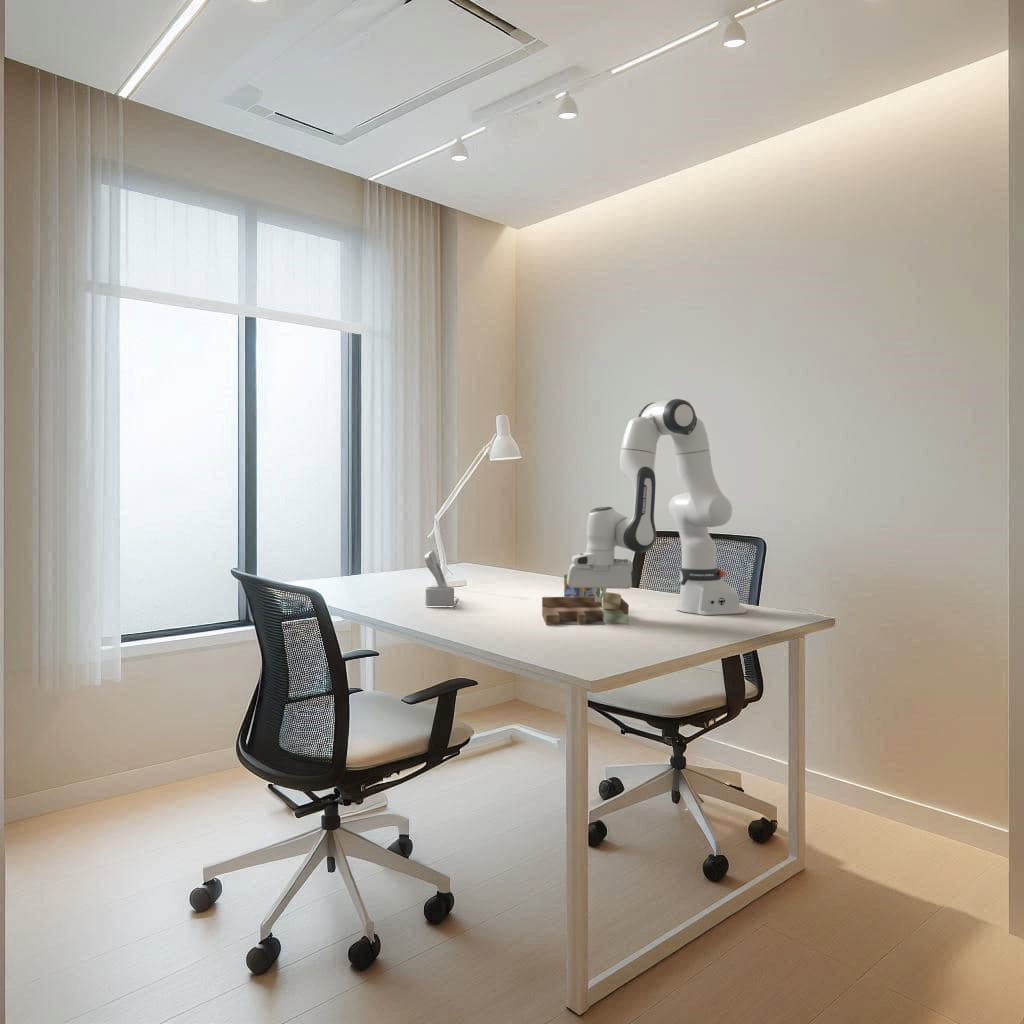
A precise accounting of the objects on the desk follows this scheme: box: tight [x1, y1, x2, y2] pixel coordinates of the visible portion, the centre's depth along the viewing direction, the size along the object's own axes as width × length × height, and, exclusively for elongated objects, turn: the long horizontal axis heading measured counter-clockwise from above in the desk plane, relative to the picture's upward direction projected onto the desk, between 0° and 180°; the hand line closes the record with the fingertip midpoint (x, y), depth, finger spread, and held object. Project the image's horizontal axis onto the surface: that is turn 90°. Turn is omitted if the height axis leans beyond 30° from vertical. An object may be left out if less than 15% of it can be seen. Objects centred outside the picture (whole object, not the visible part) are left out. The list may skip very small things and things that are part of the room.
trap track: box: [541, 596, 630, 626], centre depth 241 cm, size 25×15×6 cm, turn 92°
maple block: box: [602, 591, 622, 610], centre depth 244 cm, size 5×5×4 cm
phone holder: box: [424, 550, 459, 606], centre depth 270 cm, size 17×10×18 cm, turn 179°
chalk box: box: [563, 573, 601, 597], centre depth 260 cm, size 9×9×15 cm
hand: (598, 602), depth 244 cm, fingers closed
